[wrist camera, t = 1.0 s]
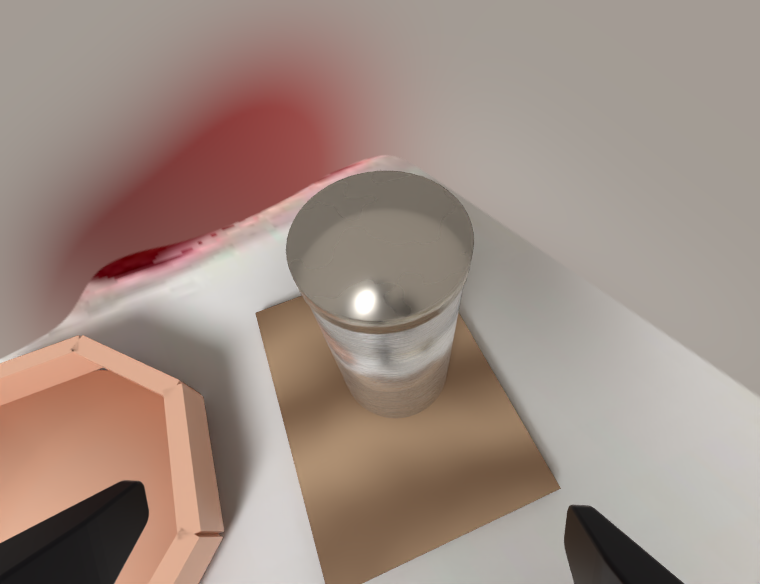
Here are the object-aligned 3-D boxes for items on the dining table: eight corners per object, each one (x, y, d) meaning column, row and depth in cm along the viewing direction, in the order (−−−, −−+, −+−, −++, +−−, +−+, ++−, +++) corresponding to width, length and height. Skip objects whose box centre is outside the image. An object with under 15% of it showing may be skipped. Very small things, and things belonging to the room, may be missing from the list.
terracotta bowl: (254, 663, 18) (221, 689, 15) (-199, 885, 15) (-347, 969, 12) (198, 328, 27) (171, 302, 24) (-91, 434, 24) (-161, 421, 22)
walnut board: (556, 490, 20) (560, 488, 20) (332, 596, 19) (329, 599, 18) (422, 257, 28) (422, 250, 28) (259, 318, 27) (255, 312, 26)
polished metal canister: (468, 393, 22) (511, 274, 12) (364, 438, 21) (316, 350, 11) (421, 305, 25) (424, 151, 15) (329, 341, 25) (267, 203, 14)
